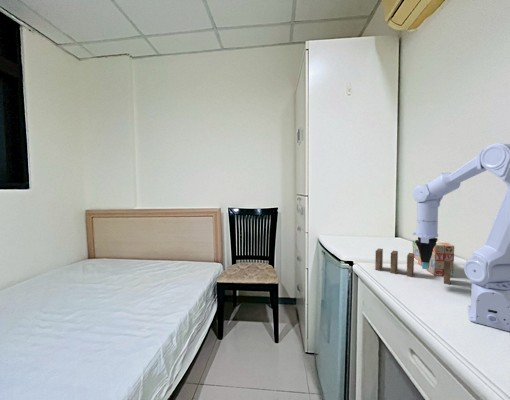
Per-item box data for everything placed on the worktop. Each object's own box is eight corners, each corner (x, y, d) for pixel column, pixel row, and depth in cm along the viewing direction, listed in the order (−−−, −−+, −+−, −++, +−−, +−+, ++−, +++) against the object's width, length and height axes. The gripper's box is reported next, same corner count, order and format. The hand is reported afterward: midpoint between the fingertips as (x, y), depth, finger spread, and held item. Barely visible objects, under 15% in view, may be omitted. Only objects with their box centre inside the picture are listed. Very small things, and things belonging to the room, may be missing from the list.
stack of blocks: (412, 259, 110) (412, 233, 110) (427, 260, 109) (428, 234, 108) (434, 276, 89) (435, 244, 89) (453, 277, 88) (454, 245, 87)
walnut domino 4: (449, 280, 85) (450, 258, 85) (449, 284, 81) (450, 261, 81) (444, 279, 86) (444, 257, 86) (443, 283, 83) (444, 261, 82)
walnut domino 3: (413, 273, 92) (414, 253, 92) (411, 277, 89) (412, 256, 88) (408, 272, 93) (409, 252, 93) (406, 276, 90) (407, 255, 89)
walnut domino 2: (397, 270, 96) (397, 251, 96) (395, 273, 92) (395, 253, 92) (392, 269, 97) (393, 250, 97) (390, 272, 93) (390, 253, 93)
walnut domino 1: (382, 267, 100) (382, 248, 99) (379, 270, 96) (379, 251, 95) (378, 266, 101) (378, 248, 100) (375, 269, 97) (375, 250, 96)
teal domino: (429, 265, 82) (429, 243, 81) (428, 269, 78) (428, 245, 77) (423, 264, 83) (424, 242, 82) (422, 268, 79) (422, 245, 79)
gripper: (415, 217, 88) (414, 253, 88) (409, 222, 77) (409, 263, 77) (439, 219, 83) (438, 256, 84) (437, 224, 72) (436, 267, 73)
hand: (426, 260), depth 80 cm, fingers closed on teal domino, 5 cm apart
